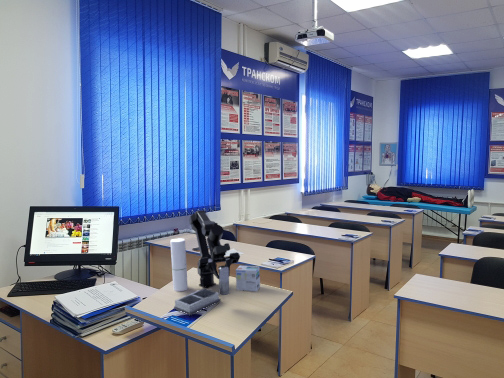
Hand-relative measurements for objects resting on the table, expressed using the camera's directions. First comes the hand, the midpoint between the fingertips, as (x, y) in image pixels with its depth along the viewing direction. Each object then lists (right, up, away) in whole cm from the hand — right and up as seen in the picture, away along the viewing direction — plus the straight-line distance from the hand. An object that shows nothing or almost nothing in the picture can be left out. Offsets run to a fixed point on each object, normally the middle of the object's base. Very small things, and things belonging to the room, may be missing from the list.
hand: (223, 277), depth 164 cm
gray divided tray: (-12, -13, +4) cm, 19 cm away
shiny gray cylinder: (0, -7, +1) cm, 7 cm away
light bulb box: (+11, -11, +22) cm, 26 cm away
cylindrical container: (-24, -12, +25) cm, 36 cm away
